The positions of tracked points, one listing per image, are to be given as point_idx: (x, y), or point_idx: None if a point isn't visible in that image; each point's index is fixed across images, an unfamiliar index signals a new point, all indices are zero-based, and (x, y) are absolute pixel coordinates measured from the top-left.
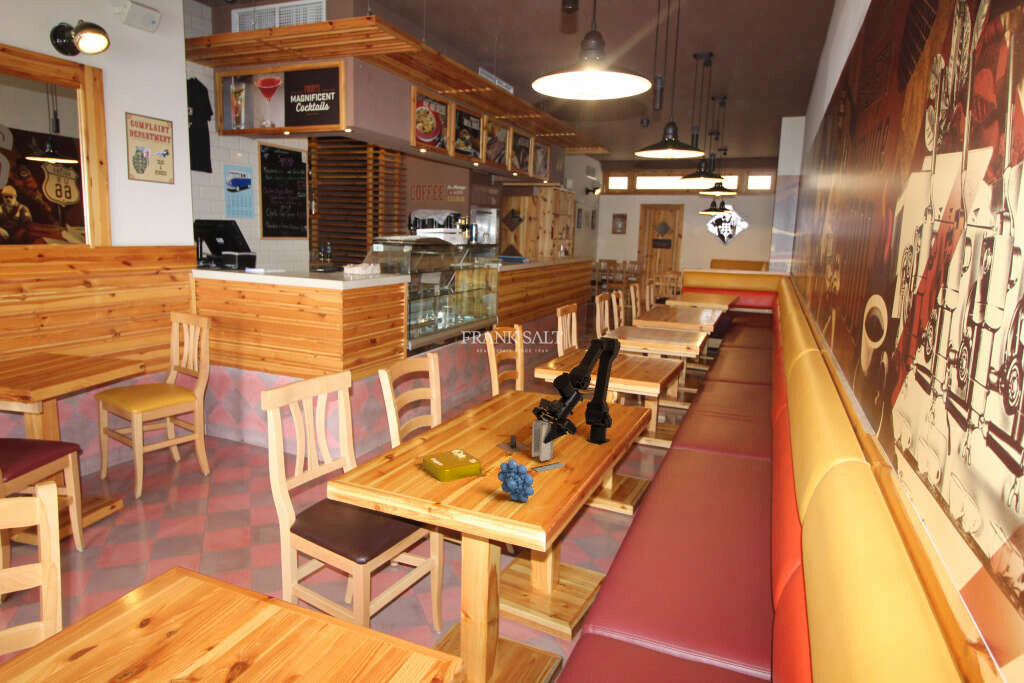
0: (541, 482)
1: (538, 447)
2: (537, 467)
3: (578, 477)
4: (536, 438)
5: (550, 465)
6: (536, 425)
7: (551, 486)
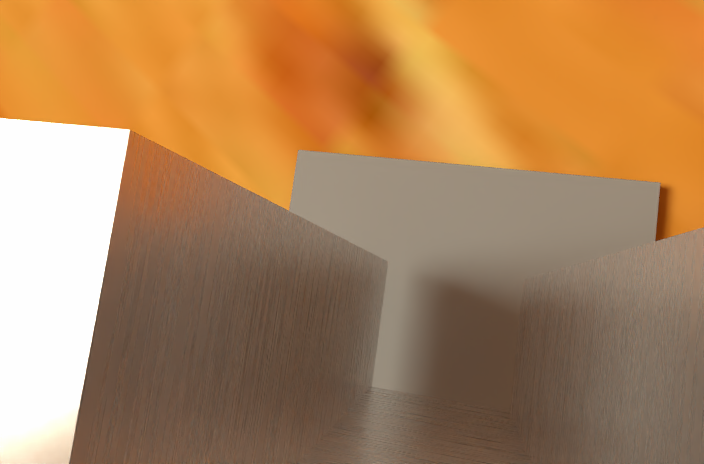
0: (134, 35)
1: (529, 370)
2: (375, 214)
3: None
4: (563, 333)
5: None
6: (700, 359)
7: (37, 50)
